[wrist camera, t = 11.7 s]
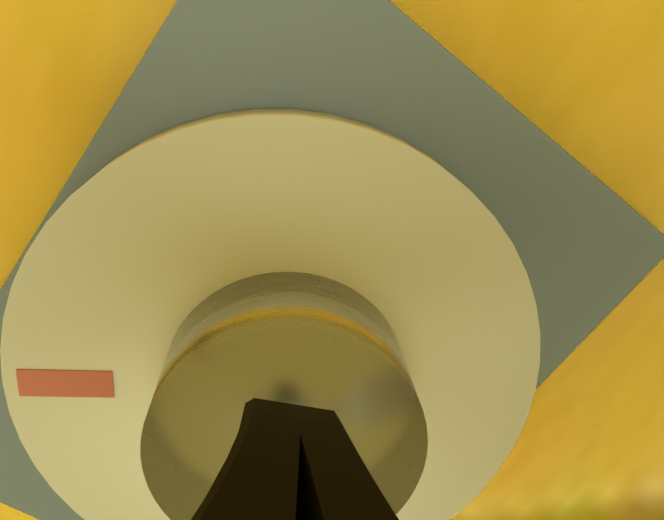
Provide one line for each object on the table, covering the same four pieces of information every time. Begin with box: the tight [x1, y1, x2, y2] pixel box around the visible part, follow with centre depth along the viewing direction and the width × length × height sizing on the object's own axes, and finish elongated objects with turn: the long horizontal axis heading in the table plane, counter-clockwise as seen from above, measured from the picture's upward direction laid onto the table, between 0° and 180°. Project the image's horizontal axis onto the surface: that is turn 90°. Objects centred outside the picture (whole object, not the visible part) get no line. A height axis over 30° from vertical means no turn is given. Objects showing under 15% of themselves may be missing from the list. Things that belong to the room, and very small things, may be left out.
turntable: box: [0, 109, 540, 520], centre depth 15 cm, size 14×14×6 cm
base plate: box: [0, 0, 664, 520], centre depth 18 cm, size 15×19×1 cm
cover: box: [140, 272, 428, 520], centre depth 14 cm, size 6×6×4 cm
